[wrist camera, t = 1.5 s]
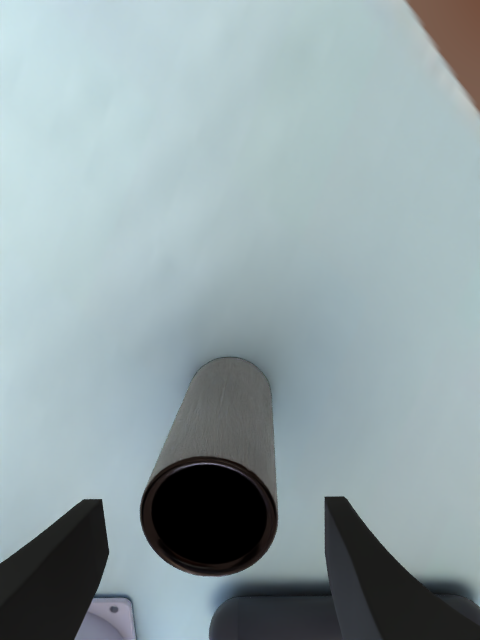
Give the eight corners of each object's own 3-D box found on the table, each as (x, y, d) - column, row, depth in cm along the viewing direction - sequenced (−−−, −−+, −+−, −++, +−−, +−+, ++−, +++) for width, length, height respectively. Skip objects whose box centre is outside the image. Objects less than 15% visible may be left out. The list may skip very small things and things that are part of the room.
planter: (173, 381, 24) (111, 497, 14) (243, 340, 24) (230, 432, 14) (217, 446, 25) (187, 599, 15) (286, 409, 24) (304, 543, 14)
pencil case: (214, 630, 28) (207, 696, 24) (210, 582, 27) (202, 642, 23) (475, 629, 27) (510, 697, 23) (478, 579, 26) (516, 641, 22)
